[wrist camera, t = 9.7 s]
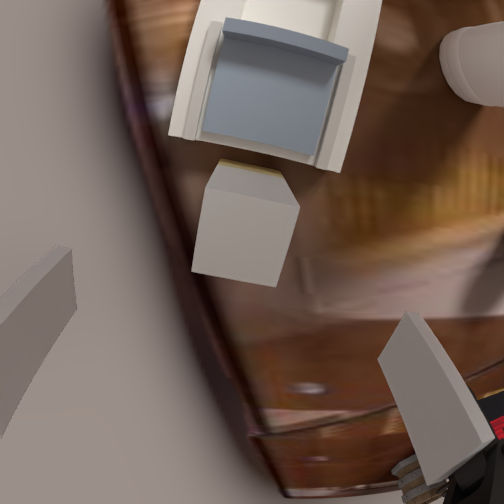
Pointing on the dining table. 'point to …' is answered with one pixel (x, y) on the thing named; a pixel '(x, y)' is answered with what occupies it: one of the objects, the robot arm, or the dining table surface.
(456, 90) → the bottle
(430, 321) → the dining table surface
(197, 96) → the socket
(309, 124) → the shutter
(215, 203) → the plug
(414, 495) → the tankard
